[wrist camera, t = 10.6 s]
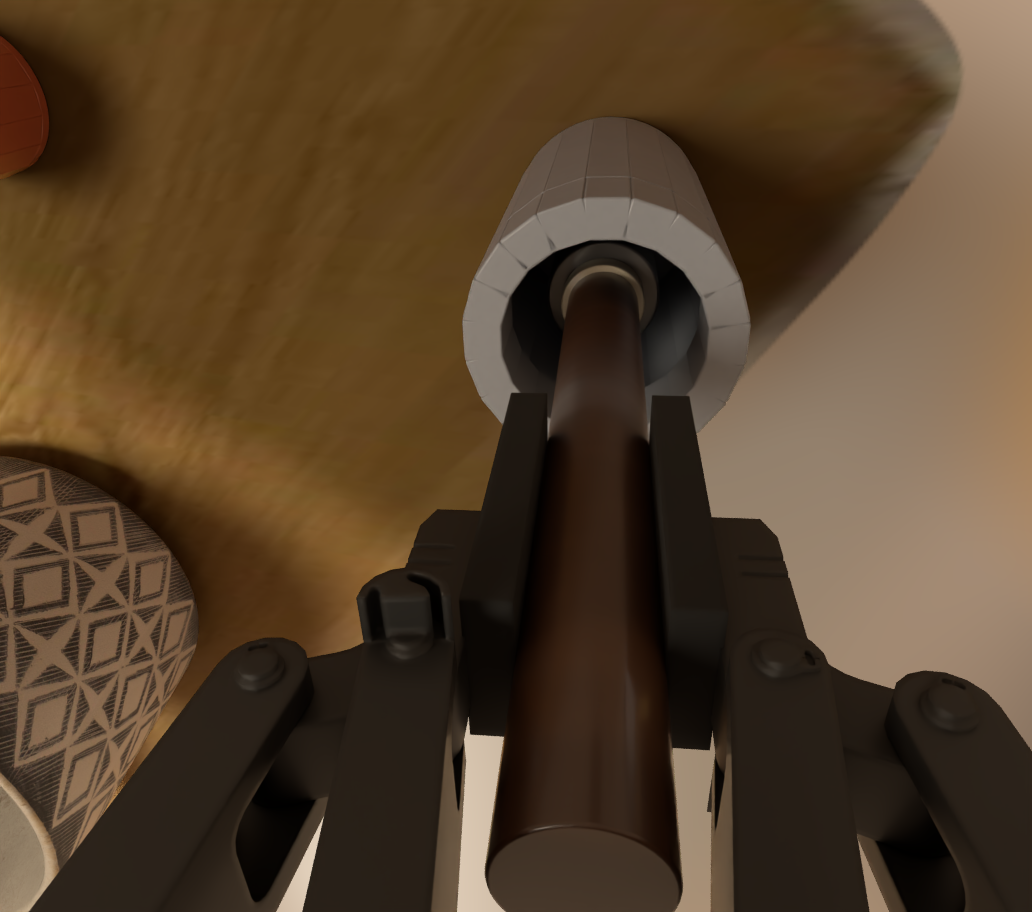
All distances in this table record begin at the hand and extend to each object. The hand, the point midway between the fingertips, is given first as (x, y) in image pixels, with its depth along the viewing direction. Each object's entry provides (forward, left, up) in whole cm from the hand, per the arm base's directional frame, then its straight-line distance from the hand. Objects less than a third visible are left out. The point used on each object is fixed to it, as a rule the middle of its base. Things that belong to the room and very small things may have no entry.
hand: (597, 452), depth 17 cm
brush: (0, 0, -15) cm, 15 cm away
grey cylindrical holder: (0, 0, -20) cm, 20 cm away
